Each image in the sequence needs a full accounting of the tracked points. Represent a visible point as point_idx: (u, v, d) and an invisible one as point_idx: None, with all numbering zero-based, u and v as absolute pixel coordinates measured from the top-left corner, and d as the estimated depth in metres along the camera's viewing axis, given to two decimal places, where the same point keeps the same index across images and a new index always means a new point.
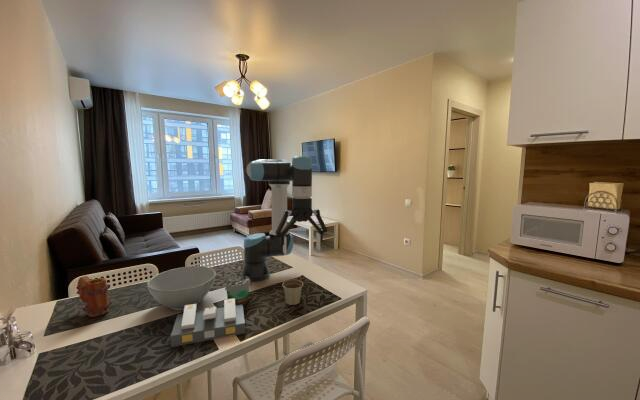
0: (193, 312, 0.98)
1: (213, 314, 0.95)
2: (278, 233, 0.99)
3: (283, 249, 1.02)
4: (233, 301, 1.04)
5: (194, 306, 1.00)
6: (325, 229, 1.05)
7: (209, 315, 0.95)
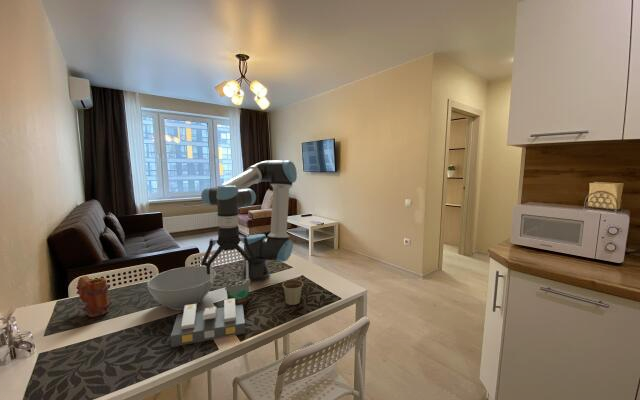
0: (193, 312, 0.98)
1: (213, 314, 0.95)
2: (203, 263, 0.99)
3: None
4: (233, 301, 1.04)
5: (194, 306, 1.00)
6: (253, 257, 1.05)
7: (209, 315, 0.95)
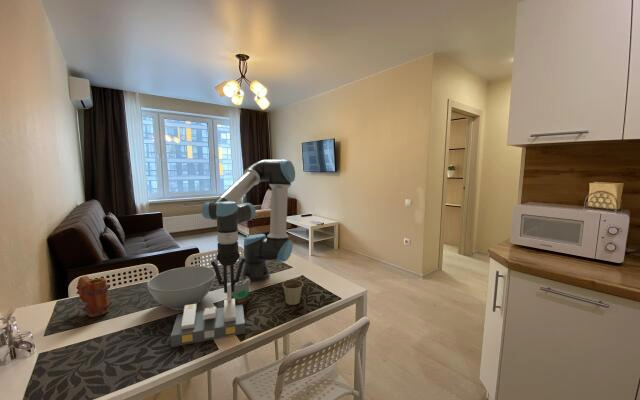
0: (193, 312, 0.98)
1: (213, 314, 0.95)
2: (220, 282, 1.02)
3: None
4: (233, 301, 1.05)
5: (194, 306, 1.00)
6: (237, 279, 1.04)
7: (209, 315, 0.95)
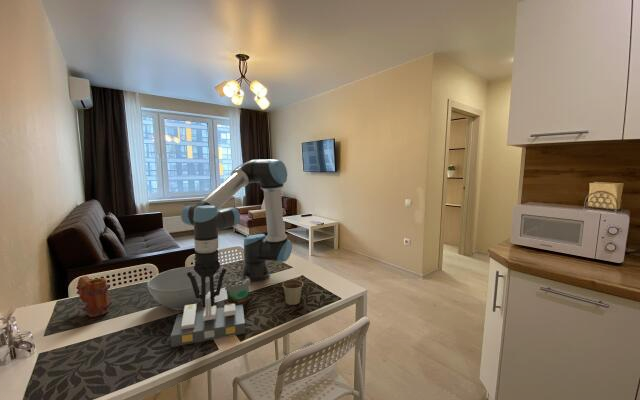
0: (193, 312, 0.98)
1: (213, 315, 0.95)
2: (197, 295, 0.92)
3: None
4: (233, 305, 1.05)
5: (194, 306, 1.00)
6: (218, 292, 0.94)
7: None
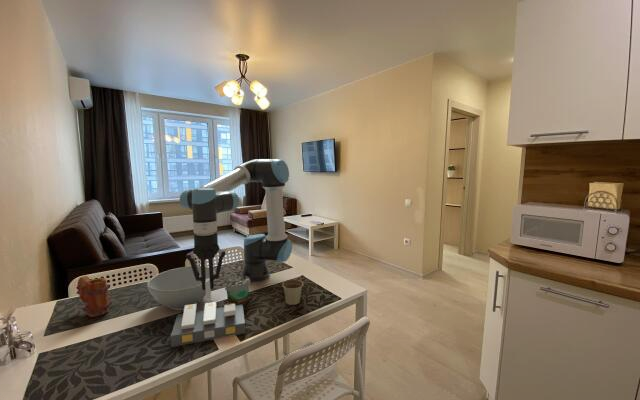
0: (193, 312, 0.98)
1: (213, 320, 0.95)
2: (197, 278, 0.92)
3: None
4: (233, 305, 1.05)
5: (194, 306, 1.00)
6: (217, 275, 0.94)
7: (209, 321, 0.95)
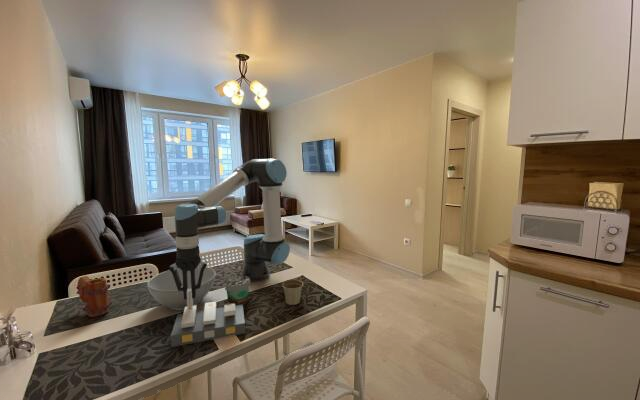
0: (193, 312, 0.98)
1: (213, 320, 0.95)
2: (179, 288, 0.98)
3: None
4: (233, 305, 1.05)
5: (194, 307, 1.01)
6: (198, 285, 1.00)
7: (209, 321, 0.95)
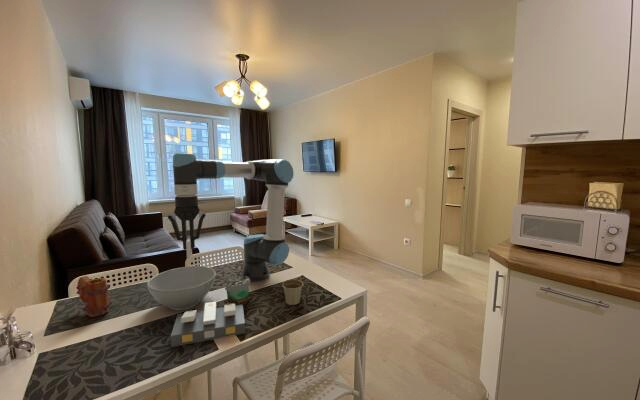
0: (193, 312, 0.98)
1: (213, 320, 0.95)
2: (178, 238, 0.98)
3: None
4: (233, 305, 1.05)
5: (194, 310, 1.01)
6: (197, 236, 1.00)
7: (209, 321, 0.95)
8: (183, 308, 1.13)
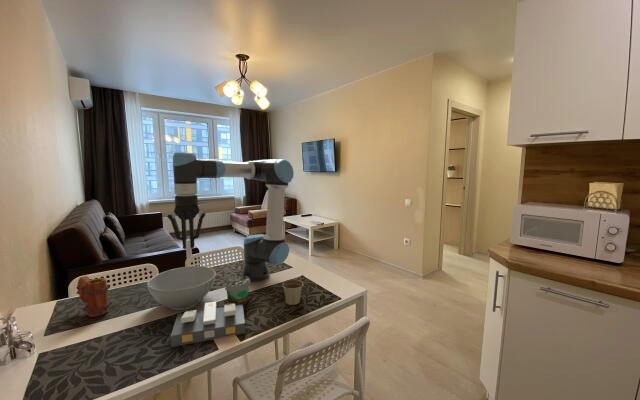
0: (193, 312, 0.98)
1: (213, 320, 0.95)
2: (178, 237, 0.98)
3: None
4: (233, 305, 1.05)
5: (194, 310, 1.01)
6: (197, 235, 1.00)
7: (209, 321, 0.95)
8: (183, 308, 1.13)
